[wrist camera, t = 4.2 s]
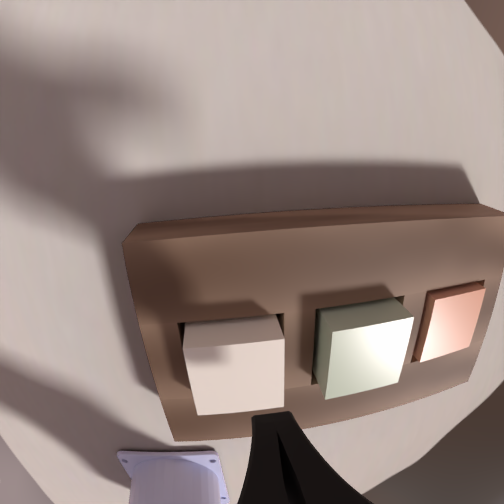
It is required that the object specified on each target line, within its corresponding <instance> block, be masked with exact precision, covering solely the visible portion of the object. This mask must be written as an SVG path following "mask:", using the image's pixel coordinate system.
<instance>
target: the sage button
mask: <svg viewBox="0 0 504 504" xmlns="http://www.w3.org/2000/svg"><path fill="white" fill-rule="evenodd" d="M413 320H414V316H413V315H412V314H411V313H410V312H409V311H408V310H407V309H406V308H405V307H404V306H403V305H402V304H401V303H400V302H398V301H397V300H396V299H395V298H394V297H392V298H386V299H380V300H373V301H367V302H361V303H354V304H347V305H340V306H333V307H326V308H318V309H316V312H315V331H314V348H313V363H312V370H313V372H314V375H315V377H316V379H317V382H318V384H319V386H320V389H321V391H322V394H323V396H324V398H325V400H326V399H331V398H336V397H341V396H345V395H350V394H354V393H359V392H363V391H367V390H371V389H375V388H379V387H383V386H387V385H391V384H394V383H398V380H399V377H400V373H401V370H402V366H403V362H404V358H405V354H406V350H407V346H408V342H409V338H410V333H411V329H412V324H413Z"/></svg>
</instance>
